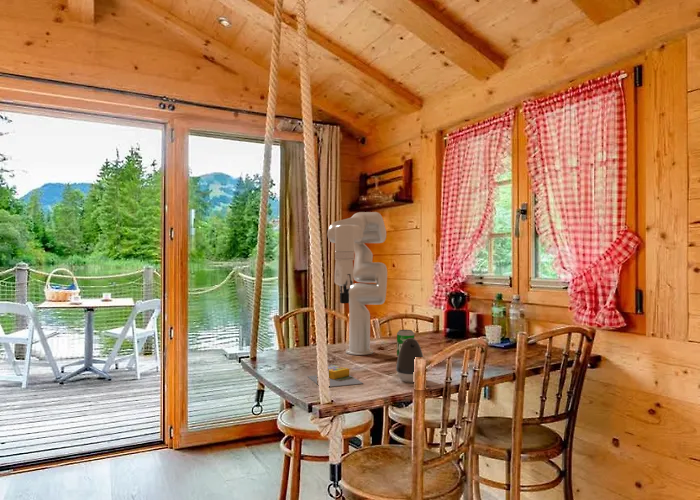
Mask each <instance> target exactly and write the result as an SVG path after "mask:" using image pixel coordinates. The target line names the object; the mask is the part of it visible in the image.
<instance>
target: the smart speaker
mask: <svg viewBox="0 0 700 500" xmlns="http://www.w3.org/2000/svg"><path fill="white" fill-rule="evenodd" d="M415 357H423V358H424V355H423V351H422V347H421V345H420V344H419V342H418V340H417V339H415V338H414V339H413V338H408V339H406V340H405V341H404V342H403V344H402V346H401V348H400V351H399V355H398V356H397V360H396V367H395V368H396V369H395V371H396V373H397V377H399V379H400V380H401V381H402V382H404V383H410V384H411V383H413V372H414V359H415Z"/></svg>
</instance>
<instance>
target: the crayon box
mask: <svg viewBox="0 0 700 500" xmlns="http://www.w3.org/2000/svg"><path fill="white" fill-rule="evenodd" d="M327 366H328V369H329V378H330V379H334V380H337V381H340V380H344V379H342V378H345V379H348V378H353V377H354V376H352V377H350V376H349V375H350V368H347V367H343V366H339V365H336V364H330V365H329V364H328V365H327Z"/></svg>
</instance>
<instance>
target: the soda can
mask: <svg viewBox="0 0 700 500" xmlns="http://www.w3.org/2000/svg"><path fill="white" fill-rule="evenodd" d="M408 338H413V339H415V332H414V331H413V329H412V330H411V329H399V330H398V331H397V332H396V356H397V357H398V355H399V351H400V348H401V346H402V344H403V342H404V341H405V340H406V339H408Z"/></svg>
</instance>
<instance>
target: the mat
mask: <svg viewBox="0 0 700 500" xmlns="http://www.w3.org/2000/svg"><path fill="white" fill-rule="evenodd" d="M349 376H350V377H353V378H348V379H345V378H342V379H344V380H340V381H337V380H334V379H330V387H329V388H337V387H347V386H357V385H363V384H364V382H362V381H361V380H359V379H357V378H356V377H354V376H352V375H350V374H349ZM308 377H309V378H308ZM307 378H308V379H309V380H311V381H312V382H314V383H315V384H316V385H317V375H316V374H315V375H308V376H307Z"/></svg>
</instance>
